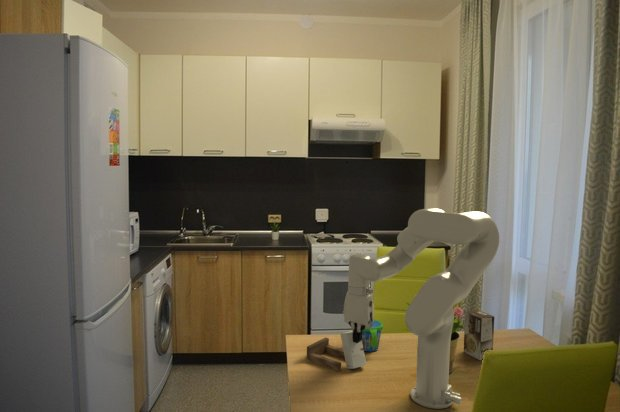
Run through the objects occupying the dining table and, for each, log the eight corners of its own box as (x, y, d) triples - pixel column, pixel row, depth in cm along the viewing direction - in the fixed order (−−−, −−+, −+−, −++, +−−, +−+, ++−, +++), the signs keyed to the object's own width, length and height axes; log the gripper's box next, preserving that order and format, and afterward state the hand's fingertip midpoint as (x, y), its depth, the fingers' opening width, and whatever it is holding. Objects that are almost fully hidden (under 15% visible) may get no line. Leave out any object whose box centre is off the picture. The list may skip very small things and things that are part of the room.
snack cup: (352, 340, 176) (353, 316, 175) (378, 340, 176) (378, 316, 175) (357, 356, 160) (358, 330, 159) (385, 357, 160) (386, 330, 160)
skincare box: (353, 369, 147) (346, 332, 149) (346, 368, 150) (339, 333, 153) (367, 364, 150) (360, 329, 153) (359, 364, 154) (352, 330, 156)
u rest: (356, 360, 157) (356, 347, 157) (338, 371, 148) (338, 357, 148) (325, 349, 166) (325, 337, 165) (306, 359, 157) (306, 346, 156)
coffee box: (493, 358, 161) (495, 316, 159) (479, 361, 158) (481, 318, 157) (475, 349, 169) (477, 309, 168) (462, 351, 167) (464, 310, 165)
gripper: (383, 292, 146) (381, 344, 148) (346, 284, 156) (345, 333, 157) (372, 296, 140) (370, 351, 142) (335, 288, 150) (333, 339, 151)
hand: (357, 341), depth 150 cm, fingers closed
